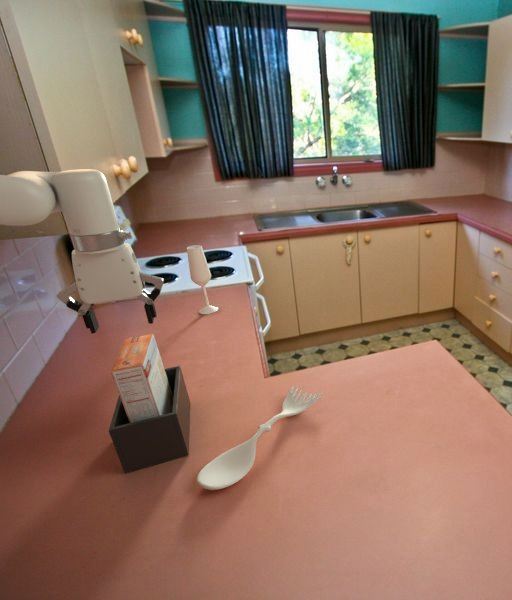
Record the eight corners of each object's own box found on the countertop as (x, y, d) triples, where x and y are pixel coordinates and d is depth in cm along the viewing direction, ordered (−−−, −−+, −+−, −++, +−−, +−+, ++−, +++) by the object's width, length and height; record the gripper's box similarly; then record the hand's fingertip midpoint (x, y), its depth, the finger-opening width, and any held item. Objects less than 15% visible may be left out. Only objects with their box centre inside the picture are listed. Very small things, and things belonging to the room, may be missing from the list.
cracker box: (149, 416, 99) (123, 337, 91) (178, 409, 101) (155, 332, 93) (139, 457, 87) (108, 370, 79) (171, 448, 89) (144, 363, 81)
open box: (124, 473, 84) (108, 430, 80) (137, 415, 101) (124, 377, 97) (188, 455, 88) (176, 413, 84) (190, 402, 105) (180, 365, 101)
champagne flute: (194, 311, 155) (179, 248, 146) (211, 305, 160) (197, 243, 151) (206, 315, 152) (190, 251, 142) (222, 308, 157) (208, 245, 147)
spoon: (324, 402, 103) (323, 391, 102) (224, 504, 77) (220, 489, 76) (294, 394, 107) (292, 382, 106) (189, 488, 81) (184, 474, 79)
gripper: (154, 231, 83) (173, 310, 90) (46, 241, 77) (76, 326, 84) (150, 240, 77) (171, 324, 84) (32, 252, 71) (66, 343, 77)
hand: (124, 325), depth 84 cm, fingers open, 9 cm apart
